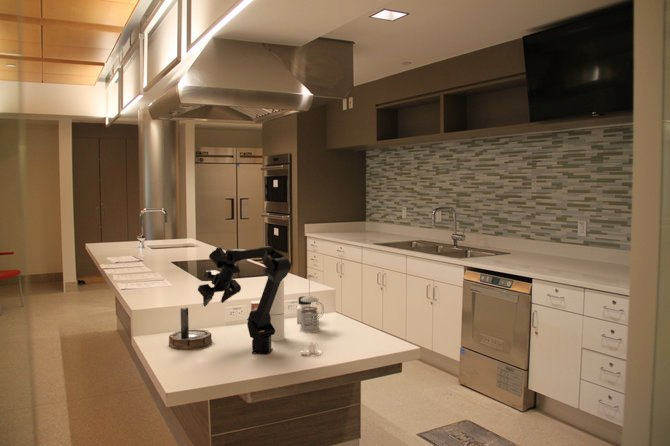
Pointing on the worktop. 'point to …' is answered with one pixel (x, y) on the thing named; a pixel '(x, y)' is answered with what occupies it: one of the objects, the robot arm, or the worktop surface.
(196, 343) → the dial housing
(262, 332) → the robot arm
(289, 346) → the worktop surface
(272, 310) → the cylindrical container
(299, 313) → the medicine bottle
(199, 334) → the dial
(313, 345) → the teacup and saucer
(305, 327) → the french press
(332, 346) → the worktop surface
